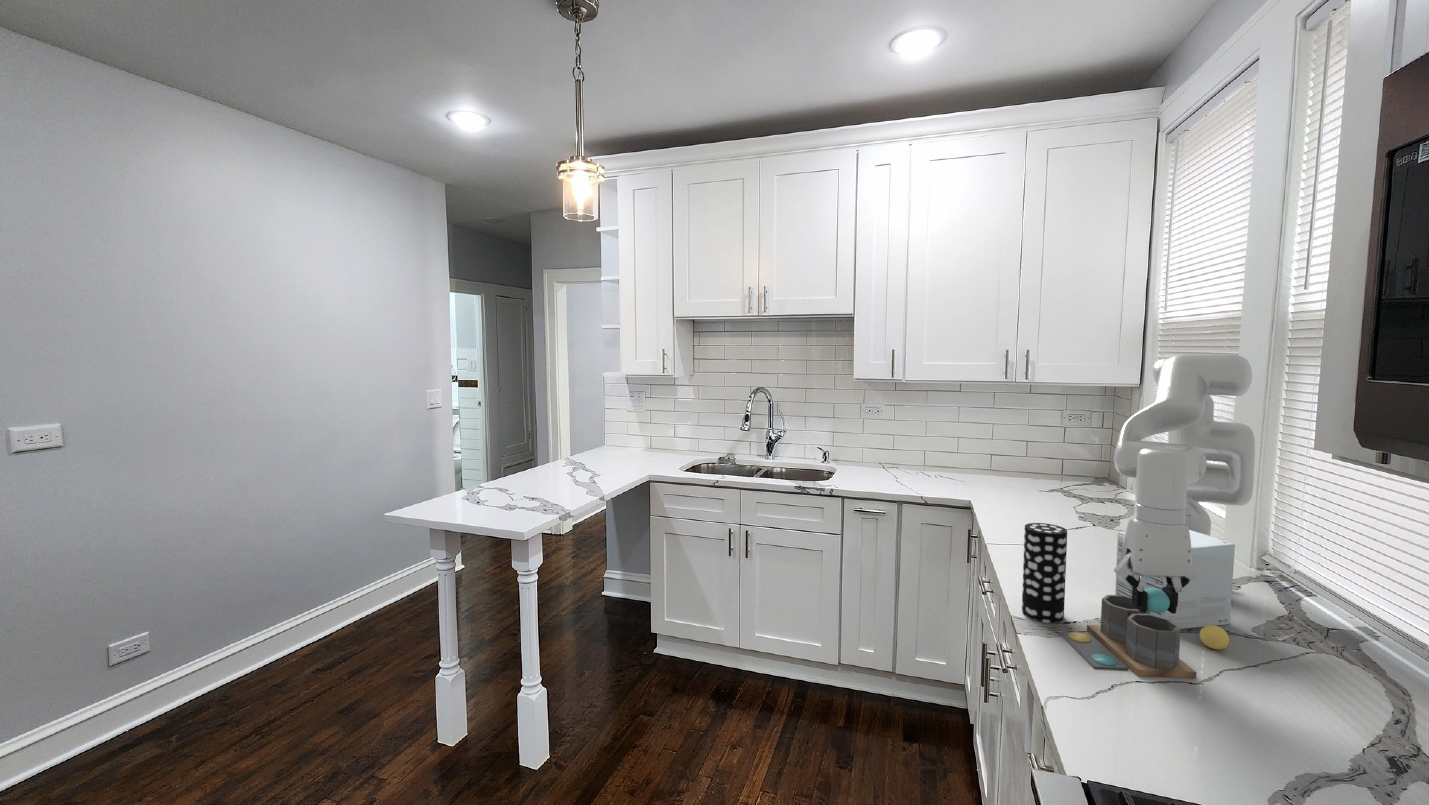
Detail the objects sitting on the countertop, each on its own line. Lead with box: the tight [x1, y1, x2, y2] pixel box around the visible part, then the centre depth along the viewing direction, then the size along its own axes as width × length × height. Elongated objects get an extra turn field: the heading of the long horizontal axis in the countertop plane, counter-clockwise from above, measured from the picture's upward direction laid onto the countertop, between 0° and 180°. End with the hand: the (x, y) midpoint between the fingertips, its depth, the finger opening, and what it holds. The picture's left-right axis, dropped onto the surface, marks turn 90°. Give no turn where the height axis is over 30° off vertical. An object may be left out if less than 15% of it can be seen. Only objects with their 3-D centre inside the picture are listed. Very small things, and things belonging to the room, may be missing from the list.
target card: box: [1058, 631, 1129, 671], centre depth 118 cm, size 6×14×1 cm, turn 174°
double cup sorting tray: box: [1086, 594, 1197, 679], centre depth 117 cm, size 10×18×8 cm, turn 174°
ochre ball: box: [1199, 625, 1230, 650], centre depth 118 cm, size 4×4×4 cm
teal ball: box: [1144, 588, 1170, 613], centre depth 111 cm, size 4×4×4 cm
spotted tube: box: [1021, 522, 1068, 624], centre depth 133 cm, size 8×8×20 cm
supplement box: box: [1114, 530, 1236, 630], centre depth 132 cm, size 17×13×18 cm
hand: (1154, 609), depth 112 cm, fingers closed on teal ball, 4 cm apart
